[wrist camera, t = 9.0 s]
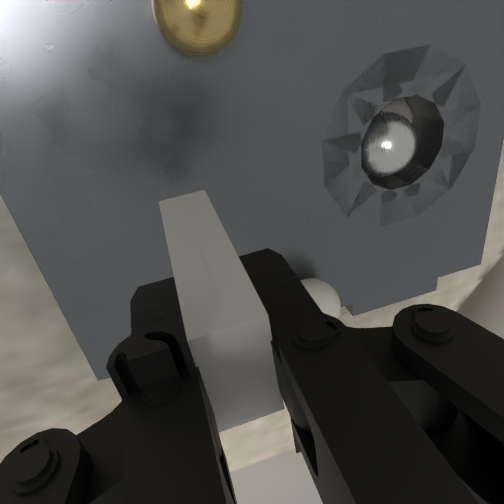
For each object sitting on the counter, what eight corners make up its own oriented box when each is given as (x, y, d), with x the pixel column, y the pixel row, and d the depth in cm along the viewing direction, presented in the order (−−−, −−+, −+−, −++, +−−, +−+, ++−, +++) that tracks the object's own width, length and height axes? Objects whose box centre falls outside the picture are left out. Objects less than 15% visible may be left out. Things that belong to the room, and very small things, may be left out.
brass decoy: (138, -34, 13) (139, -52, 11) (223, -47, 14) (244, -68, 11) (162, 62, 15) (168, 66, 12) (237, 48, 15) (259, 49, 13)
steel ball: (359, 124, 18) (430, 114, 17) (344, 111, 20) (406, 102, 20) (359, 189, 19) (424, 181, 19) (345, 169, 22) (402, 161, 22)
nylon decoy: (272, 276, 21) (292, 309, 18) (324, 261, 21) (350, 291, 19) (279, 318, 22) (297, 354, 20) (327, 304, 23) (351, 337, 20)
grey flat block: (107, 361, 24) (104, 392, 21) (-90, -43, 13) (-132, -59, 11) (451, 258, 27) (478, 277, 25) (502, -123, 17) (555, -147, 15)
